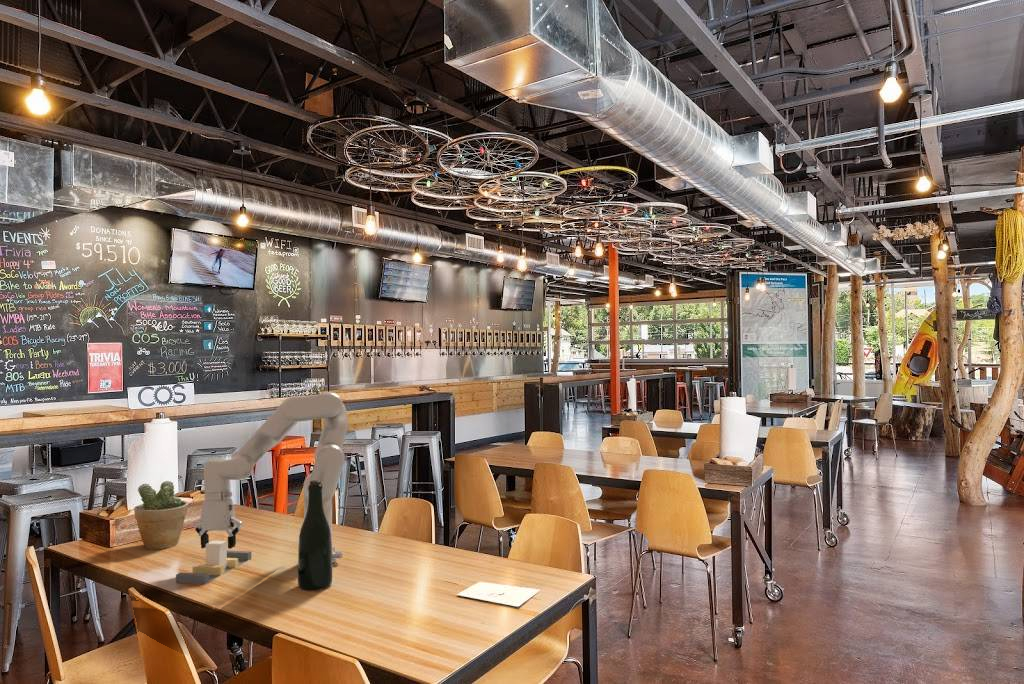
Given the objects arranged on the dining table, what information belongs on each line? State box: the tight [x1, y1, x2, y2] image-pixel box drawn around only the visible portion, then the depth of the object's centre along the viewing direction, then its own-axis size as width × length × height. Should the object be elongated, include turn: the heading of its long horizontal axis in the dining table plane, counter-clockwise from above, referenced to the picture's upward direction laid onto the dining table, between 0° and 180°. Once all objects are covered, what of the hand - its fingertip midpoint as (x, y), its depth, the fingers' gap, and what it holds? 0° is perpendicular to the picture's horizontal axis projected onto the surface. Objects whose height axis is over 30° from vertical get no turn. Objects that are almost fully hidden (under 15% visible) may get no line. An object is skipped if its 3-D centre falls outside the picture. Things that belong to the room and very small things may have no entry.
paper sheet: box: [456, 581, 541, 607], centre depth 197 cm, size 24×29×1 cm
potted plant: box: [133, 480, 189, 551], centre depth 247 cm, size 18×19×25 cm
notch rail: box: [175, 550, 252, 585], centre depth 211 cm, size 10×26×4 cm, turn 172°
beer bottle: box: [297, 480, 333, 592], centre depth 200 cm, size 10×10×33 cm
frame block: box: [205, 540, 228, 569], centre depth 211 cm, size 5×4×9 cm
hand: (218, 547), depth 212 cm, fingers open, 9 cm apart
